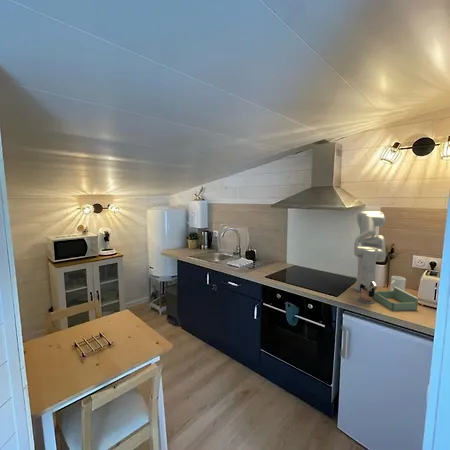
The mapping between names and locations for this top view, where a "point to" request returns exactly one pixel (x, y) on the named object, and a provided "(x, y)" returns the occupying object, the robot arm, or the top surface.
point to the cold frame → (407, 299)
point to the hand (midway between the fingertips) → (366, 293)
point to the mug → (397, 283)
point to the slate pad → (366, 302)
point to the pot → (365, 295)
